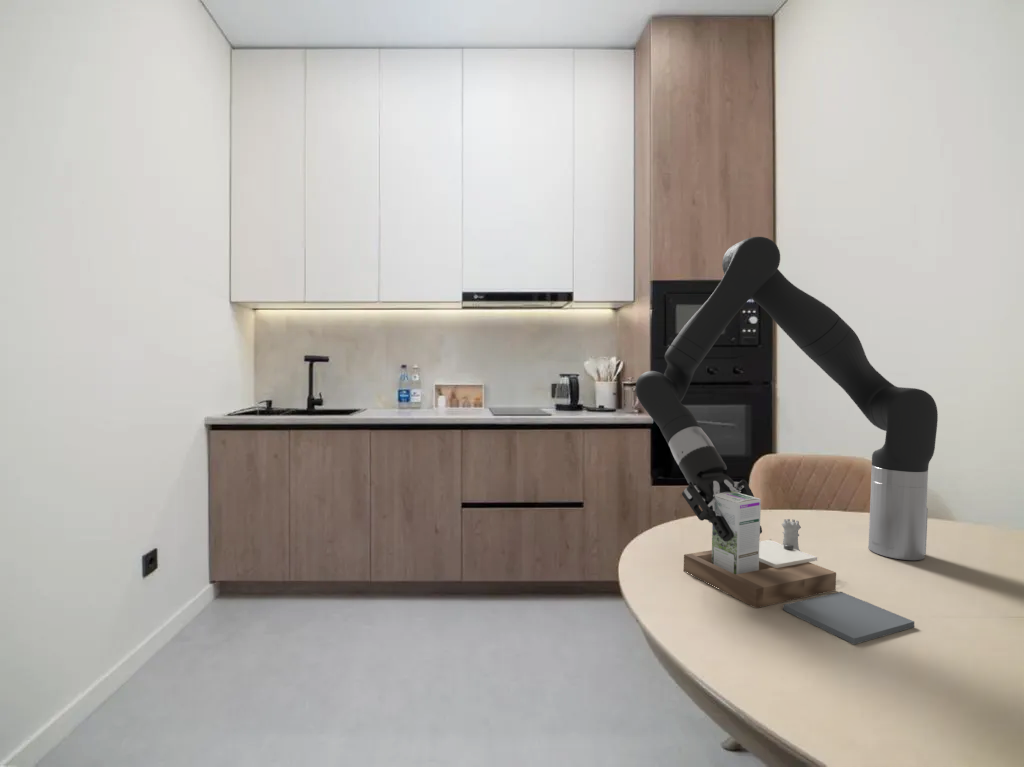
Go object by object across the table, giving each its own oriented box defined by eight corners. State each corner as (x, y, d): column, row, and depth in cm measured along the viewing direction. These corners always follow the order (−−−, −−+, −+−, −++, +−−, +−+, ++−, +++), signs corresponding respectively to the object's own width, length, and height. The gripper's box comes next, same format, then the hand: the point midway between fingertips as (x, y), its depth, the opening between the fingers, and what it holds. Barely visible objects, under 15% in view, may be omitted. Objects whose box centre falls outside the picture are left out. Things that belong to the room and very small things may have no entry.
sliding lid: (769, 542, 105) (769, 536, 105) (817, 560, 96) (817, 553, 96) (730, 549, 101) (730, 542, 101) (776, 568, 92) (776, 561, 92)
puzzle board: (757, 558, 105) (757, 542, 105) (835, 590, 91) (836, 572, 90) (683, 571, 98) (684, 554, 98) (755, 608, 83) (756, 588, 83)
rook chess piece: (806, 568, 101) (808, 525, 100) (780, 565, 101) (782, 523, 101) (798, 559, 105) (800, 518, 105) (773, 557, 106) (775, 516, 105)
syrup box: (760, 581, 94) (763, 497, 93) (735, 587, 91) (738, 501, 91) (733, 569, 99) (736, 490, 98) (709, 574, 96) (711, 493, 96)
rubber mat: (840, 596, 88) (841, 591, 88) (914, 627, 78) (914, 621, 78) (783, 609, 83) (783, 604, 83) (853, 644, 73) (854, 638, 73)
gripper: (676, 446, 98) (724, 530, 88) (736, 442, 104) (788, 521, 93) (656, 470, 103) (699, 552, 93) (714, 465, 109) (761, 542, 98)
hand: (743, 536), depth 93 cm, fingers closed on syrup box, 6 cm apart
